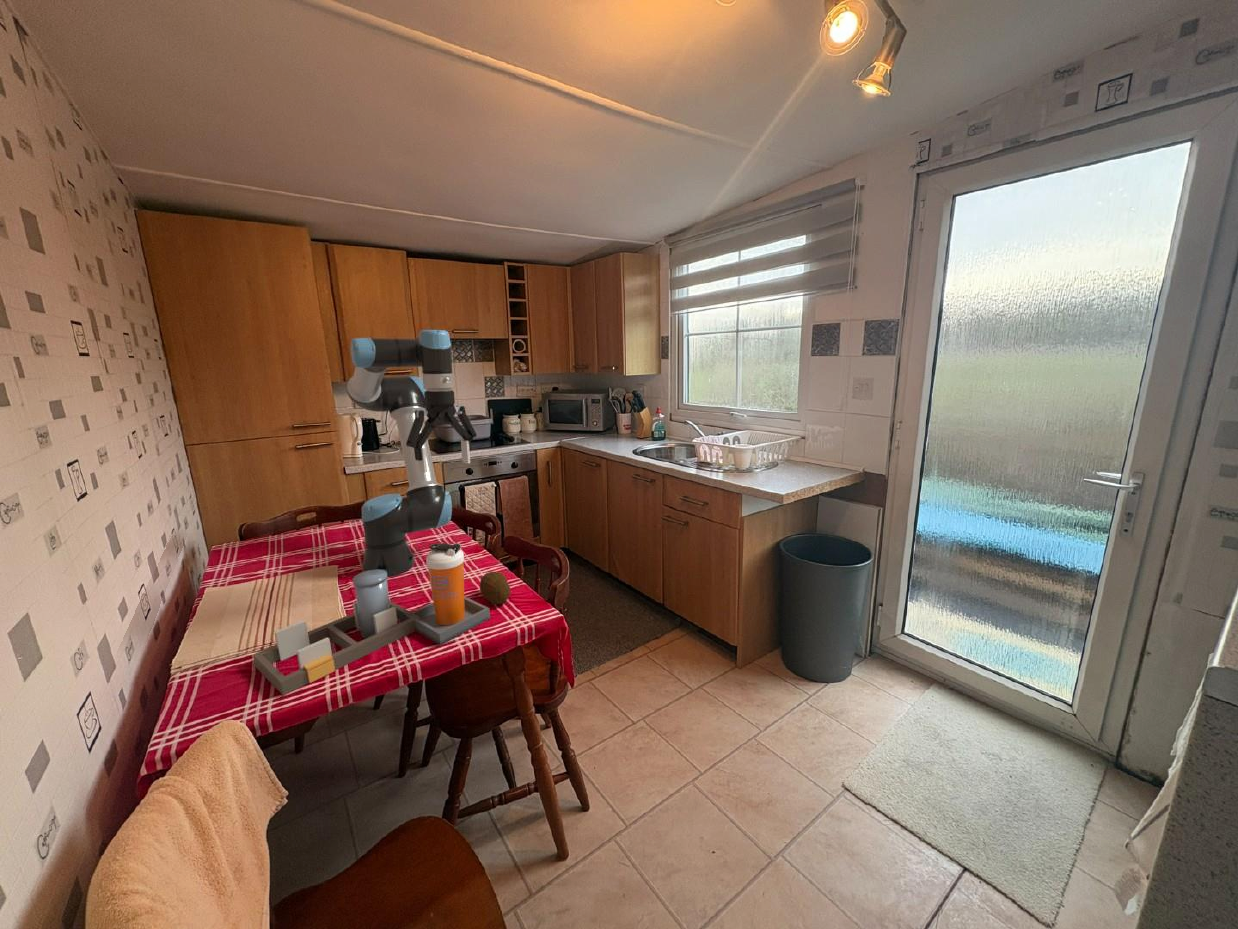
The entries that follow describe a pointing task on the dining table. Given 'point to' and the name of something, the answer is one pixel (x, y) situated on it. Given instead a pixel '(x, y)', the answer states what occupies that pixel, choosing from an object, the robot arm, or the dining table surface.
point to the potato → (495, 587)
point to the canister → (370, 598)
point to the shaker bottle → (447, 582)
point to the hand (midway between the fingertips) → (445, 467)
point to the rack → (328, 646)
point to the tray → (445, 633)
